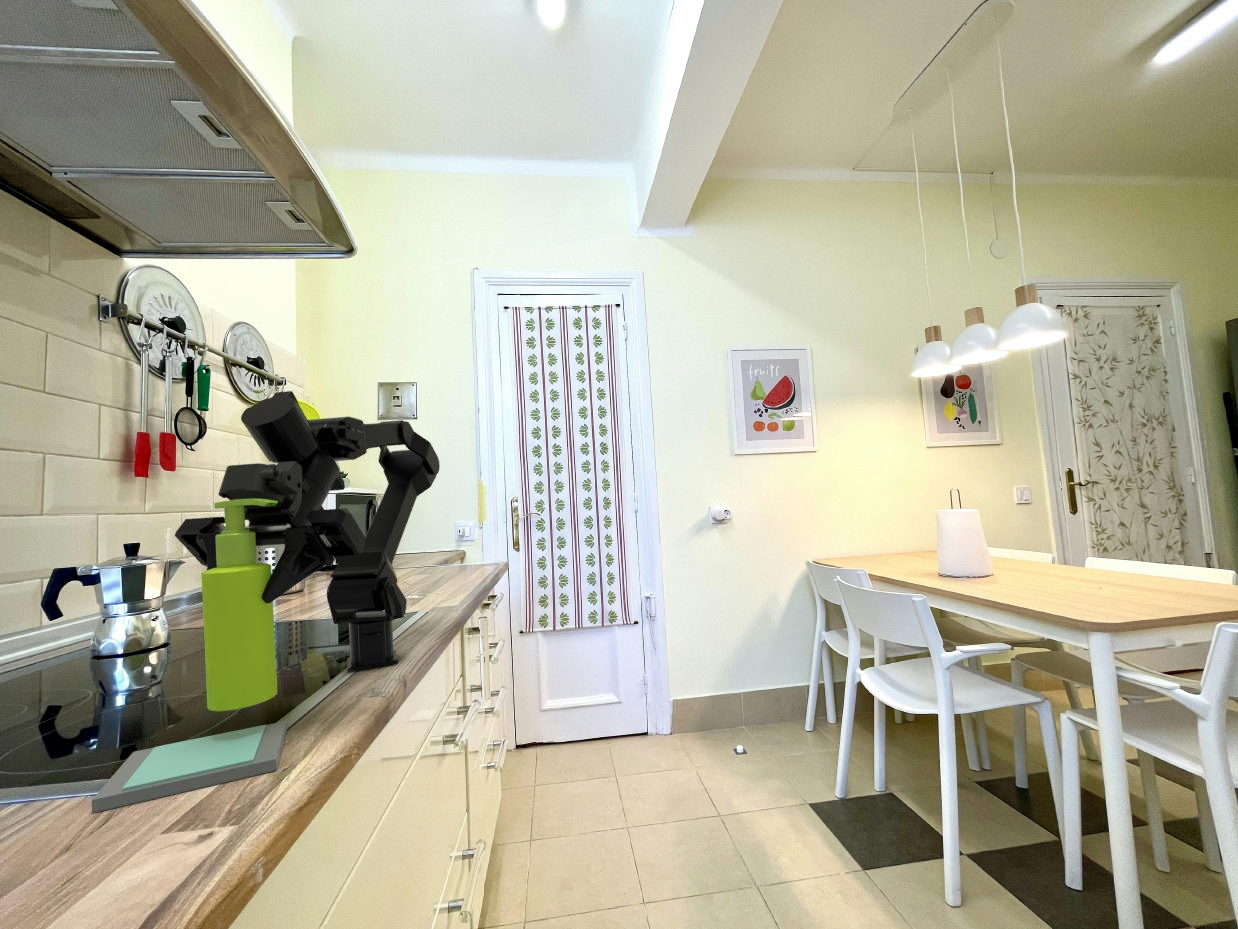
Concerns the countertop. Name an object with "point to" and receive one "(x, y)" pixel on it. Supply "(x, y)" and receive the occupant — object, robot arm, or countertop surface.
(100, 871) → the countertop surface
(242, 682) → the soap dispenser
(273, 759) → the board
